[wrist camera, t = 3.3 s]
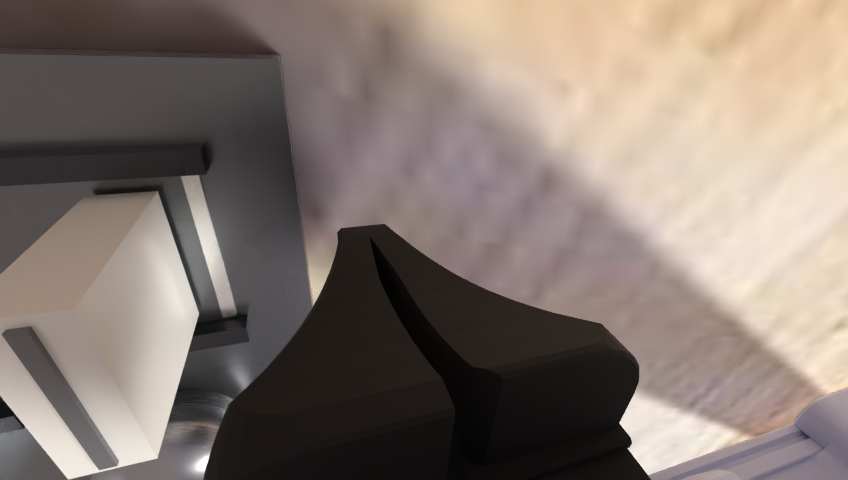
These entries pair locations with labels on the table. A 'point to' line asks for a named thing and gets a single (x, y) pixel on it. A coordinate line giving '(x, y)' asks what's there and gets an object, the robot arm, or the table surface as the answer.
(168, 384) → the fader
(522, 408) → the robot arm
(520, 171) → the table surface
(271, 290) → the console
